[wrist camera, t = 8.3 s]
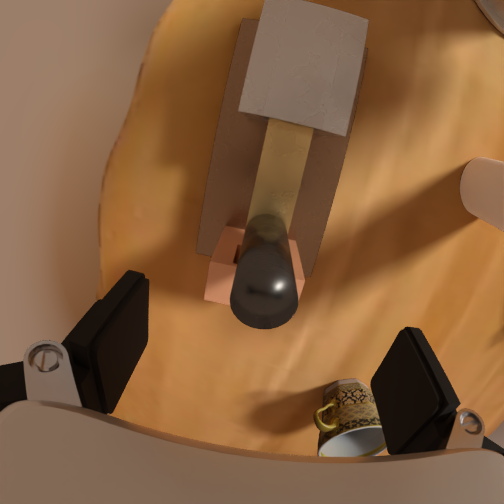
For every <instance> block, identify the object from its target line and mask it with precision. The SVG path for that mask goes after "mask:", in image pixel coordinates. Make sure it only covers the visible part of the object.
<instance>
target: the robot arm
mask: <svg viewBox="0 0 504 504" xmlns="http://www.w3.org/2000/svg"><path fill="white" fill-rule="evenodd" d="M475 2H476V3H477V5H478V7H479V8H480V10H481V11H482V12H483V14H484V15H485V16H486V17H487V19H488V20H489V21H490V22H491V23H492V24H493V25H494V26H495V27H496V28H497V29H498V30H499V31H500V32H501V33H502V34H504V0H475ZM148 307H149V279H146V278H145V275H144V274H143V273H139V272H136V271H132V270H128V271H127V272H126V273H125V274H124V275H123V276H122V277H121V279H120V280H119V281H118V282H117V283H116V284H115V285H114V286H113V288H112V289H111V290H110V291H109V292H108V293H107V294H106V296H105V297H104V298H103V299H102V300H101V299H100V300H98V301H97V302H95V304H94V305H93V306H92V307H91V308H90V310H89V311H88V312H87V313H86V314H85V315H84V317H83V318H82V319H81V320H80V321H79V322H78V324H77V325H76V326H75V327H74V329H73V330H72V331H71V332H70V333H69V335H68V336H67V337H66V338H65V340H64V341H63V342H62V343H61V344H59V343H58V342H55V341H50V340H49V341H48V340H45V341H40V342H36V343H34V344H33V345H31V346H30V347H29V348H28V349H27V350H26V352H25V354H24V359H23V361H21V362H17V363H11V364H6V365H1V366H0V504H504V449H503V448H502V447H500V446H499V445H497V444H496V443H494V442H493V441H491V440H489V439H488V438H486V437H485V436H484V432H485V426H484V422H483V420H482V418H481V417H480V416H479V415H478V414H477V413H476V412H475V411H473V410H471V409H466V408H464V409H461V410H460V411H458V412H457V411H456V408H457V407H458V406H459V405H460V404H461V403H460V401H459V399H458V397H457V395H456V393H455V391H454V389H453V387H452V385H451V383H450V381H449V380H448V378H447V376H446V374H445V372H444V370H443V368H442V366H441V364H440V363H439V361H438V359H437V357H436V355H435V354H434V352H433V350H432V348H431V346H430V345H429V343H428V341H427V339H426V338H425V336H424V334H423V333H422V331H421V330H420V329H419V328H414V327H405V328H404V329H403V330H401V331H400V332H399V333H398V335H397V337H396V339H395V340H394V342H393V344H392V346H391V348H390V349H389V351H388V353H387V354H386V356H385V358H384V359H383V361H382V363H381V364H380V366H379V368H378V369H377V371H376V372H375V374H374V376H373V377H372V379H371V390H372V393H373V397H374V400H375V404H376V408H377V411H378V415H379V419H380V423H381V426H382V430H383V434H384V438H385V442H386V446H387V451H388V453H389V454H390V455H387V456H367V457H324V456H303V455H289V454H279V453H269V452H261V451H253V450H246V449H240V448H234V447H228V446H222V445H217V444H212V443H207V442H202V441H198V440H193V439H189V438H185V437H181V436H177V435H173V434H169V433H165V432H161V431H158V430H154V429H150V428H147V427H144V426H140V425H137V424H134V423H131V422H128V421H124V420H121V419H119V418H115V417H112V416H109V415H107V413H110V414H112V413H113V411H114V409H115V407H116V405H117V403H118V401H119V399H120V397H121V395H122V393H123V391H124V389H125V387H126V385H127V383H128V381H129V379H130V377H131V375H132V373H133V371H134V369H135V367H136V365H137V363H138V361H139V359H140V357H141V355H142V353H143V351H144V349H145V348H146V345H147V342H148Z"/></svg>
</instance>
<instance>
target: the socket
mask: <svg viewBox="0 0 504 504" xmlns="http://www.w3.org/2000/svg"><path fill="white" fill-rule="evenodd" d="M244 233H245V230H243V229H239V228H234V227H229V226H225V228H224V230H223V232H222V235H221V237H220V239H219V241H218V244H217V246H216V248H215V250H214V253H213V255H212V257H211V260H210V263H209V269H208V276H207V282H206V288H205V295H204V300H208V301H212V302H217V303H222V304H226V305H230V294H231V289H232V285H233V281H234V276H235V272H236V267H237V263H238V259H239V254H240V250H241V246H242V241H243V237H244ZM288 240H289V246H290V251H291V257H292V263H293V268H294V274H295V280H296V286H297V292H298V302H299V299H300V296H301V292H302V289H303V286H304V283H305V278H304V274H303V269H302V265H301V261H300V256H299V252H298V248H297V244H296V241H294V240H290V239H288ZM293 316H294V315H293ZM292 318H293V317H292Z"/></svg>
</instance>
